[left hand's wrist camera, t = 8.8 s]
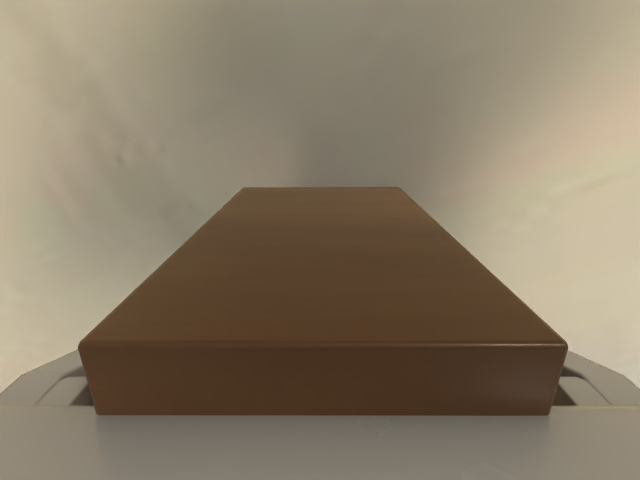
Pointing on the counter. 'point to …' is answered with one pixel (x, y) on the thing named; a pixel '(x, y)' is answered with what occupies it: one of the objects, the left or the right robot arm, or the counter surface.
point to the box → (322, 319)
